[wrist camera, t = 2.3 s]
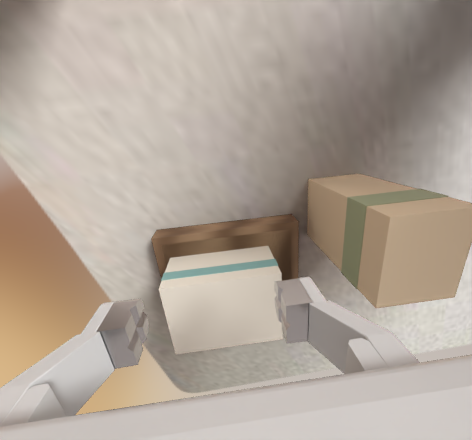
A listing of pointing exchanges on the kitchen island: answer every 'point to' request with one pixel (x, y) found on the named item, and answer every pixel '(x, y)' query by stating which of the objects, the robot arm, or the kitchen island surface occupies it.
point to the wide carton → (221, 299)
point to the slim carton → (390, 237)
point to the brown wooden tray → (233, 240)
